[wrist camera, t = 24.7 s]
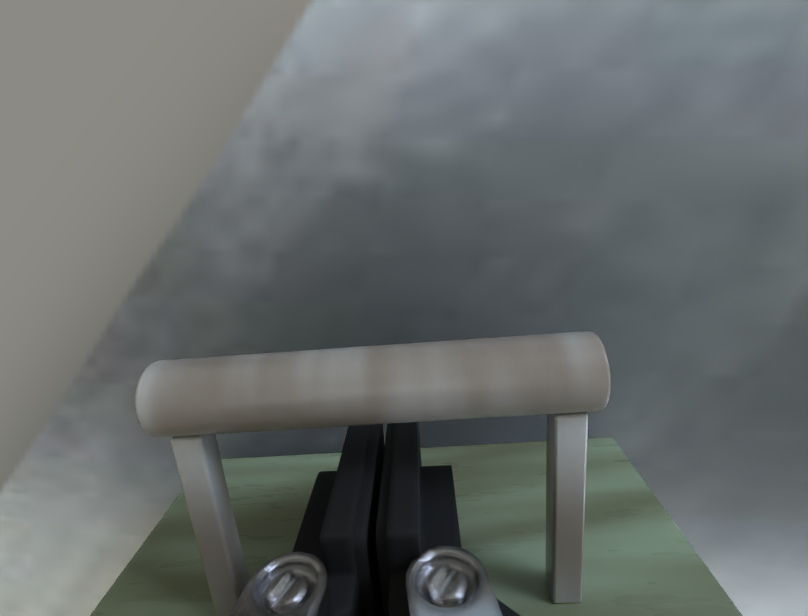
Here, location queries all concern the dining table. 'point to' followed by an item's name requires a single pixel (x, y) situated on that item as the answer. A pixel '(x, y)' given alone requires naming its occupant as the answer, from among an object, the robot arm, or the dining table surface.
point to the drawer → (471, 465)
